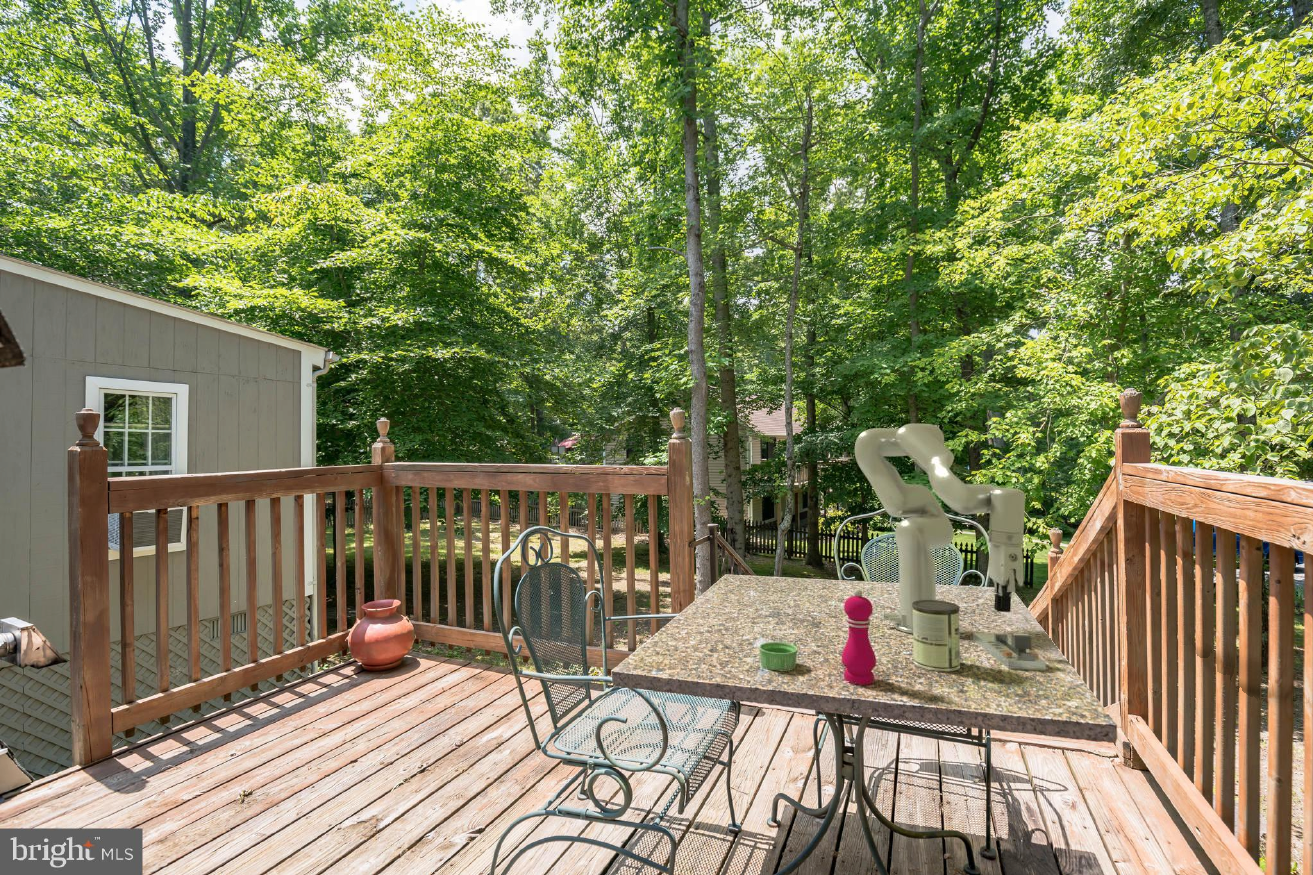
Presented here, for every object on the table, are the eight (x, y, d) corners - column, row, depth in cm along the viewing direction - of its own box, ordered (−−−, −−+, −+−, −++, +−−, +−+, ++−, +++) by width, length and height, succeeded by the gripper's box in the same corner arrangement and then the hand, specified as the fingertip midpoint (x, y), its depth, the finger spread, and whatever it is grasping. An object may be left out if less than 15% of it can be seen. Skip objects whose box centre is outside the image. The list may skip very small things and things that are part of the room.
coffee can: (911, 655, 160) (911, 598, 160) (957, 660, 156) (957, 601, 157) (913, 669, 150) (913, 607, 150) (962, 674, 147) (962, 611, 147)
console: (1008, 668, 150) (1008, 653, 150) (972, 640, 173) (972, 626, 173) (1045, 670, 149) (1045, 654, 149) (1004, 641, 172) (1004, 627, 172)
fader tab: (1015, 655, 153) (1014, 635, 153) (1011, 652, 155) (1011, 632, 155) (1031, 655, 152) (1031, 635, 152) (1027, 653, 154) (1027, 633, 154)
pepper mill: (837, 675, 146) (836, 586, 147) (868, 674, 147) (867, 585, 147) (849, 686, 139) (848, 592, 139) (881, 685, 140) (880, 592, 140)
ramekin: (775, 675, 147) (774, 655, 147) (751, 663, 155) (751, 645, 155) (805, 668, 151) (805, 649, 151) (781, 657, 159) (781, 639, 159)
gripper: (1035, 544, 154) (1031, 621, 154) (1009, 533, 168) (1005, 603, 169) (1001, 542, 155) (998, 619, 155) (978, 531, 169) (975, 601, 170)
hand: (1002, 610), depth 162 cm, fingers closed
